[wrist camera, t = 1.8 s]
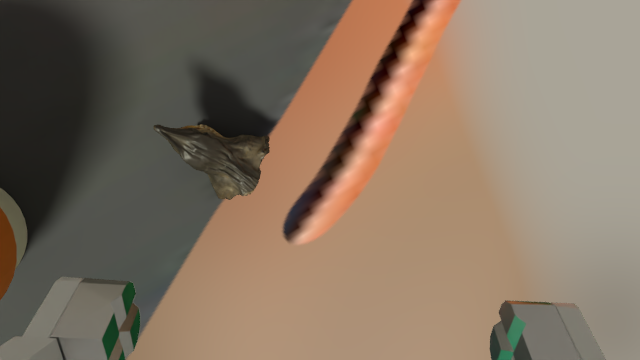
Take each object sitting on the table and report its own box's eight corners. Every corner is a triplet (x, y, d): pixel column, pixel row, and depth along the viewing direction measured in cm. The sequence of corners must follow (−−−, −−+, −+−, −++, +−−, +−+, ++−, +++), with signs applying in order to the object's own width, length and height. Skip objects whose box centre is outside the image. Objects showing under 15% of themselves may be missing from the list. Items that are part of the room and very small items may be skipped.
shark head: (156, 148, 42) (126, 163, 35) (203, 84, 41) (181, 86, 34) (236, 208, 43) (222, 233, 36) (284, 147, 42) (279, 162, 35)
